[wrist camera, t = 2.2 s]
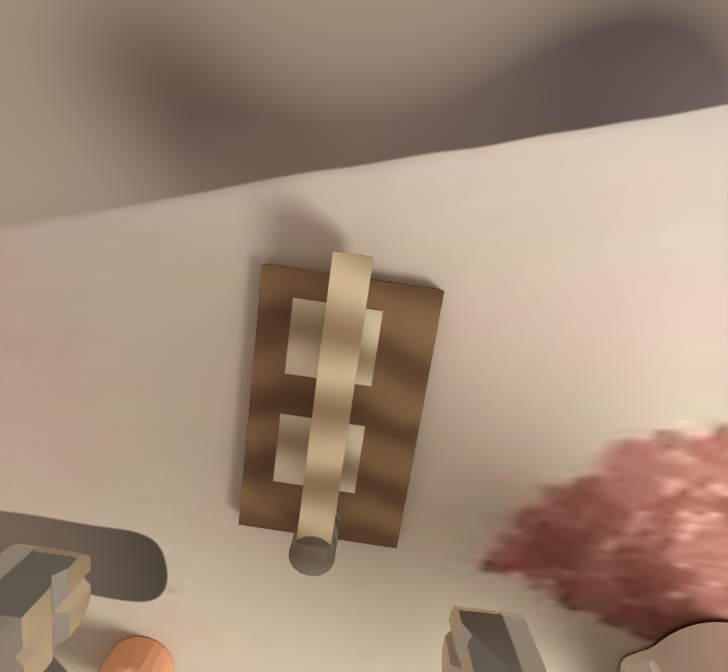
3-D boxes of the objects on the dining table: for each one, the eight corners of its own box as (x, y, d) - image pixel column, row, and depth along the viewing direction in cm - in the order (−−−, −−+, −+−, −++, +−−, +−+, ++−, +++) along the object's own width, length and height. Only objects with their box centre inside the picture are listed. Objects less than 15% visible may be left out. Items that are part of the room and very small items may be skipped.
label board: (395, 537, 41) (396, 553, 39) (243, 514, 41) (236, 529, 39) (441, 289, 36) (445, 291, 34) (267, 263, 36) (260, 264, 34)
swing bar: (336, 546, 39) (331, 579, 35) (295, 540, 39) (286, 572, 35) (379, 257, 33) (379, 258, 29) (332, 250, 33) (326, 250, 29)
